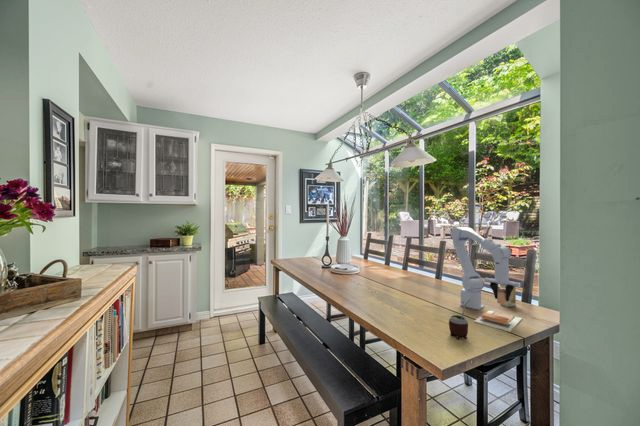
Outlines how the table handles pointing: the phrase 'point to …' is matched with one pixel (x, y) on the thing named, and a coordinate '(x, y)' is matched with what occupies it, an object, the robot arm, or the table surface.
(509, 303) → the skincare box
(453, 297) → the table surface
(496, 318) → the button
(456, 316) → the mate gourd
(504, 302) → the cylinder
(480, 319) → the picture board
